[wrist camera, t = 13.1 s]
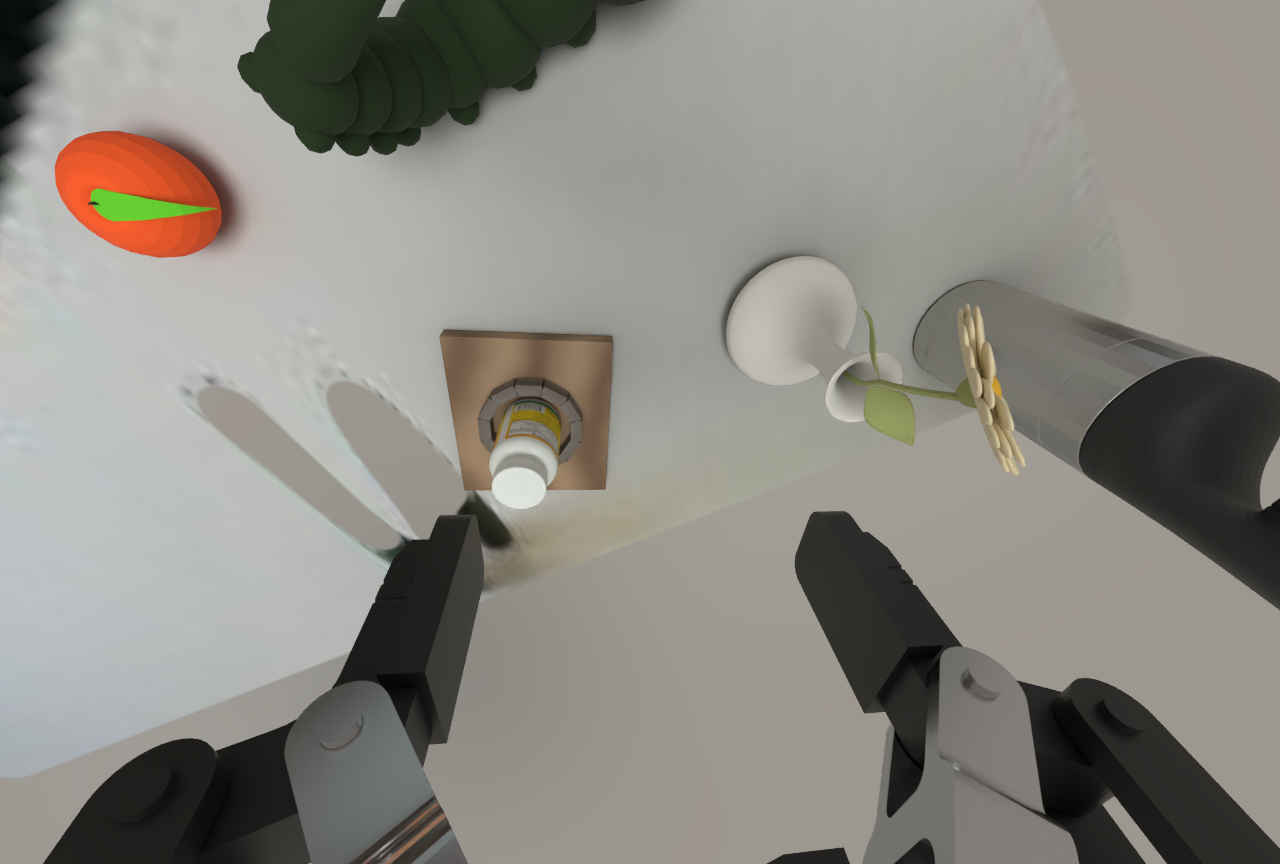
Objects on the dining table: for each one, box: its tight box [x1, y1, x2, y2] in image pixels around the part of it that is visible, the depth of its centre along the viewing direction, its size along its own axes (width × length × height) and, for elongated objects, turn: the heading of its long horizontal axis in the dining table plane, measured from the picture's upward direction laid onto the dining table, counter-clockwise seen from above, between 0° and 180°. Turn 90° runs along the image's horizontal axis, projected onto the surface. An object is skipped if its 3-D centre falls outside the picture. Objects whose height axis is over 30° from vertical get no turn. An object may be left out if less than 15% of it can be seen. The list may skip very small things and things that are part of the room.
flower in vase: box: [726, 256, 1026, 476], centre depth 29 cm, size 13×11×25 cm
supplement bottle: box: [489, 398, 561, 509], centre depth 37 cm, size 5×5×10 cm
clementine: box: [55, 131, 222, 258], centre depth 28 cm, size 8×7×7 cm
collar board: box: [440, 330, 613, 490], centre depth 41 cm, size 14×16×3 cm
